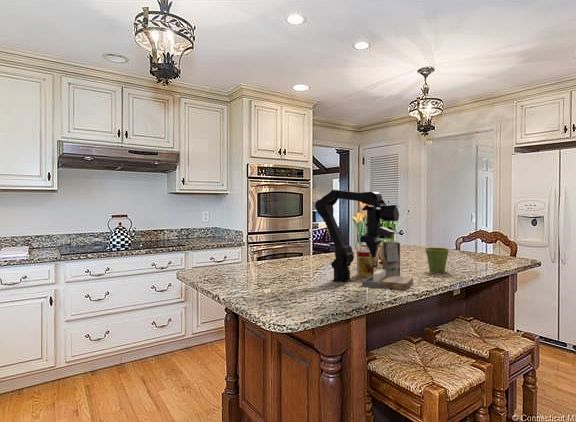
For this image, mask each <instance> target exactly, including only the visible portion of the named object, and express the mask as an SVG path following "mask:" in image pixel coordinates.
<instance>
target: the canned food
mask: <svg viewBox="0 0 576 422" xmlns="http://www.w3.org/2000/svg"><path fill="white" fill-rule="evenodd" d="M374 258H375V257H372V255H371V253H370V250H369V249H358V250H357V251H356V259H357V260H356V264H357V265H356V270H357V272H356V274H357V277H362V278H368V277H370V276H372V275H373V273H375V272H374V271H375V270H374V269H375V265H374V262H375V261H374Z"/></svg>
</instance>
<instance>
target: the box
mask: <svg viewBox="0 0 576 422" xmlns="http://www.w3.org/2000/svg"><path fill="white" fill-rule="evenodd" d="M387 277H389V276H386V278H387ZM361 287H371V288H380V289H382V288H383V287H382V283H381V282H373V275H372V276H370V277H366V278H365V279H364V280H362V281H361Z"/></svg>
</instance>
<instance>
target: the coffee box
mask: <svg viewBox="0 0 576 422" xmlns="http://www.w3.org/2000/svg"><path fill="white" fill-rule="evenodd" d="M381 243H382V270H386V276H399V277H401V243H400V242H398V241H393V240H392V241H382V242H381Z"/></svg>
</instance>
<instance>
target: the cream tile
mask: <svg viewBox="0 0 576 422" xmlns="http://www.w3.org/2000/svg"><path fill="white" fill-rule="evenodd" d="M384 279H386V270H383V269H379V270H377V271H375V272H374V273H373V282H381V283H382V281H383V280H384Z"/></svg>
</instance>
